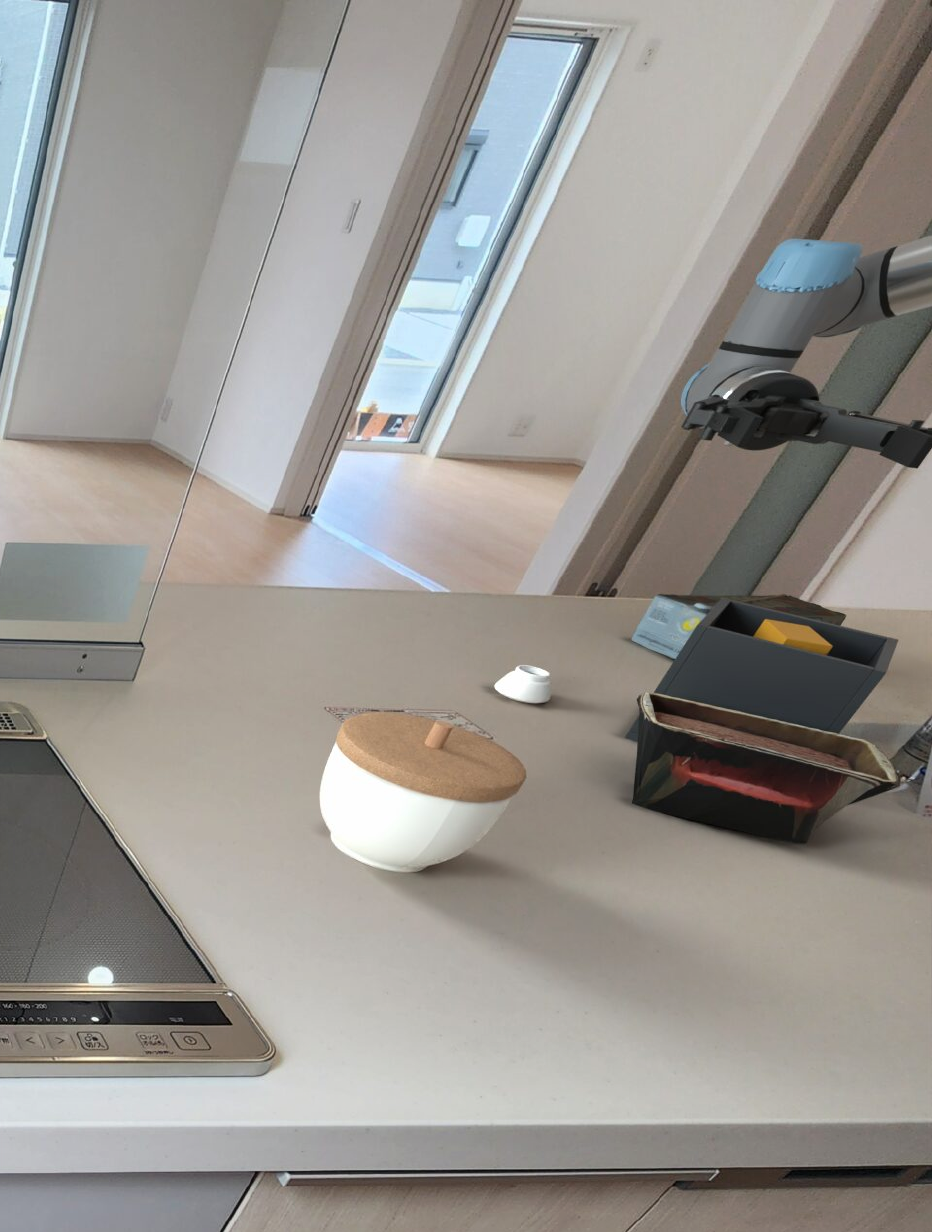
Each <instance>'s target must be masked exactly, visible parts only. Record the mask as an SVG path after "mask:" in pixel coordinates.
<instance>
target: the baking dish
mask: <svg viewBox="0 0 932 1232" xmlns="http://www.w3.org/2000/svg"><path fill="white" fill-rule="evenodd" d="M635 700H636V704H637V706H638V712H639V713H638V716H639V727H638V742H636V743H637V745H636V747H637V748H636V759H635V770H634V782H633V791H632V792H633V793H632V801H631V804H632V805H635V806H638V807H641V808H643V809H646V810H649V811H653V812H658V813H662V814H666V815H670V816H673V817H678V818H682V819H685V820H689V821H695V822H698V823H699V822H700V823H703V824H708V825H713V826H717V827H722V828H726V829H730V830H734V831H738V832H743V833H748V834H752V835H757V836H761V837H765V838H769V839H770V838H771V839H774V840H780V841H784V842H788V843H791V844H800V845H806V844H807V843H808V841H809V839H810V837H811V834H812V832H813V831H814V830H816V829H817V828H818V827H820V826H821V825H822V824H824V823H826V821H828V820H829V819H830V818H831V819H832V817H834V815H836V814H838V813H839V812H840V811H842V810H843V809H844V808H846V807H847V806H850V805H853V804H855V803H859V802H862V801H864V800H867V799H870V798H873V797H875V796H878V795H880V794H884V793H887V792H889V791H892V790H894V789H897V788H899V787H900V786H901V776H900V775H899V772H898V770H897V769H896V766H895V764H893V763H892V761H891V760H890V759H889V757H888V756H887V755H886V754H885V752H883V751H882V750H881V749H880V747H878V746H877V745H876V744H874V743H872V742H869V741H868V740H867V739H862V738H856V737H852V736H848V735H845V734H841V733H839V734H837V733H833V732H827V731H822V730H819V729H814V728H808V727H805V726H800V725H797V724H791V723H787V722H783V721H779V720H774V719H769V718H765V717H761V716H756V715H752V714H747V713H744V712H740V711H735V710H730V709H725V708H720V707H716V706H712V705H708V704H703V703H698V702H694V701H689V700H685V699H680V698H675V697H670V696H667V695H662V694H656V693H654V692H646V691H645V692H644V693H642V694H639V695H638V696H637V698H636V699H635Z"/></svg>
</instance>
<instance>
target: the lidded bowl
mask: <svg viewBox="0 0 932 1232" xmlns="http://www.w3.org/2000/svg"><path fill="white" fill-rule="evenodd" d="M331 749H332V750H331V751H330V754H329V756H328V758H327V761H326V764H325V766H324V771H323V773H322V777H321V780H320V781H321V782H320V787H319V808H320V812H321V816H322V818H323V821H324V823H325V825H326V827H327V828H328V831H329V832H330V840H331V842H332V844H333V845H334V846H335V848H337V849H338V850H339V851H340V852H342V853H343V854H345V855H346V856H348V857H350V858H352V859H353V860H355V861H357V862H359V863H362V864H364V865H367V866H369V867H372V868H375V869H378V870H381V871H386V872H392V873H405V874H410V873H417V872H421V871H423V870H425V869H426V868H427V867H429V866H434V865H438V864H441V863H444V862H447V861H449V860H451V859H454V858H456V857H458V856H460V855H462V854H464V853H465V852H466V851H467V850H469V849H470V848H472V847H473V846H474V845H476V844H477V843H478V842H479V841H480V840H481V839H482V838H484V836H485V835H486V834H487V833H488V832H489V831H490V830H491V829H492V827H494V826H495V824H496V823H497V821H498V820H499V819H500V818H501V816H502V814H503V813H504V811H505V810H506V808H507V807H508V805H509V803H510V802H511V800H512V798H513V797H514V796H515V795H516V794H518V792H519V791H520V789H521V788H522V786H523V784H524V782H525V781H526V779H527V770H526V768H525V766H524V764H523V763H522V761H521V760H520V759H519V758H518V757H517V756H515V754H513V753H512V752H511V751H509V750H508V749H506V748H505V747H504V746H502V745H500V744H498V743H496V742H495V741H493V740H491V739H489V738H487V737H484V736H483V735H480V734H478V733H476V732H473V731H470V730H468V729H466V728H462V727H460V726H457V725H454V724H452V723H450V722H447V721H445V720H436V719H432V718H428V717H422V716H418V715H411V714H405V713H397V712H367V713H359V714H356V715H352V716H351V717H348V718H347V719H346V720H344V721H343V723H341V724H340V727H339V729H338V732H337V735H336V738H335V743H334V745H333V746H332V748H331Z"/></svg>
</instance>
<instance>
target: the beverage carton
mask: <svg viewBox="0 0 932 1232" xmlns="http://www.w3.org/2000/svg"><path fill="white" fill-rule="evenodd" d="M722 598H726V599H730V600H735V601H739V602H743V603H747V604H751V605H756V606H760V607H764V608H768V609H772V610H776V611H781V612H785V613H789V614H793V615H797V616H802V617H806V618H810V619H814V620H818V621H823V622H827V623H831V624H835V625H839V626H842V624H843V622H844V621H845V620H846V618H847V614H845V613H843V612H840V611H835V610H832V609H829V608H826V607H823V606H822V605H820V604H817V603H814V602H809V601H806V600H804V599H801V598H798V597H795V596H792V595H787V594H784V593H781V594H777V595H776V594H774V595H773V594H770V595H768V594H767V595H733V594H732V595H710V594H709V595H708V594H707V595H706V594H704V595H703V594H697V595H696V594H674V593H673V594H666V593H665V594H663V593H659V594H656V595H655V596H654V598H653V599H652V601H651V603H650V605H649V606H648V608H647V610H646V611H645V613H644V614H643V615H642V617H641V618H640V621H639V622H638V624H637V626H636V628H635V630H634V633H633V634H632V636H631V641H632V642H633V643H635V644H638V645H640V646H642V647H644V648H646V649H648V650H650V651H653V652H656V653H659V654H661V655H664V656H666V657H667V658H670V659H672V660H675V659H676V657H677V655H678V654H679V652H680V651H681V649H682V648H683V646H684V645H685V643H686V642H687V640H688V638H689V637H690V635H691V634H692V632H693V631H694V629H695V628H696V626H697V625H698V624H699V623H700V622H701V620H702V619H703V618H704V617H705V616H706V615H707V614H708V613H709V612H710V611H711V610H712V609H713V607H714V606H715V605H716V604H717V603H718V602H719V601H720V600H721V599H722Z"/></svg>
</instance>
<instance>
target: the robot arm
mask: <svg viewBox="0 0 932 1232" xmlns="http://www.w3.org/2000/svg"><path fill="white" fill-rule="evenodd" d="M862 254H863V246H862V245H861V244H859V243H857V242H847V241H846V242H845V241H835V240H834V241H832V240H823V239H822V240H821V239H806V238H789V239H785V240H784V241H782V242H781V243H780V244H779V245H777V246H776V248H775V249H774V251H773V252H772V253H771V255H770V257H769V259H768V260H767V262H766V263H765V265H764V266H763V268H762V270H760V271H759V272H758V274H757V276H756V278H755V282H754V284H753V286H752V287H751V289H750V291H749V293H748V295H747V297H746V298H745V300H744V301H743V303H742V305H741V308H740V309H739V311H738V312H737V315H736V317H735V318H734V320H733V322H732V323H731V326H730V327H729V329H728V331H727V332H726V334H725V336H724V339H723V340H722V341H721V343H720V345H719V346H718V348H717V349H716V351H715V353H714V355H712V358H711V360H710V362H709V363H707V364H706V365H704V366H703V367H701V368H700V369H699V370H697V372H695V373H694V374H693V375H692V376H691V377H690V378H689V380H688V381H687V383H686V384H685V386H684V387H683V390H682V394H681V397H680V405H681V409H682V411H683V413H684V414H685V416H686V417H685V419H684V421H683V422H682V424H681V425H680V427H681V429H683V430H685V431H690V430H696V429H701V430H702V431H701V432H700V434H699V435H698V440H703V441H709V442H710V441H713V439H714V437H715V436H718V437H720V438H721V439H723V440H724V442H723V445H724V446H726V447H733V446H735V447H737V448H739V449H742V450H746V451H752V452H753V451H756V452H757V451H765V450H769V449H774V448H777V447H780V446H782V445H784V444H786V443H788V442H798V441H799V442H802V443H807V444H813V445H825V444H828V443H836V444H840V445H844V446H849V447H854V448H859V449H864V450H868V451H873V452H878V453H879V454H878V456H881V457H883V458H886V459H887V460H890V461H892V462H895V463H897V464H900V465H901V466H904V467H905V468H911V469H919V468H920V466H921V464H922V463H923V462H924V460H925V459H926V457H928V455H929V453H930V452H931V450H932V427H924V426H923V424H924V423H925V420H922V419H912V420H911V421H910V423H905V422H901V421H896V420H891V419H887V418H883V417H878V416H873V415H869V414H867V413H863V412H861V411H860V410H851V411H847V409H846V408H842V407H837V406H832V405H826V404H825V405H824V404H823V403H822V401H820V394H819V391H818V388H817V386H816V385H815V384H814V383H813V382H812V381H810V380H809V379H807V378H805V377H802V376H799V375H798V374H795V373H792V371H793V369H794V367H795V366H796V364H797V362H798V361H799V359H800V358H801V356H802V355H803V353H804V351H805V349H806V348H807V346H808V345H809V343H810V341H811V340H812V338H813V337H815V338H833V337H837V336H842V335H845V334H849V333H852V332H854V331H857V330H859V329H861V328H863V327H865V326H867V325H871V324H874V323H877V322H878V323H879V322H882V321H886V320H888V319H891V318H895V317H897V316H901V315H905V314H909V313H913V312H916V311H920V310H923V309H927V308H930V307H932V234H930V235H926V236H924V237H921V238H917V239H914V240H911V241H908V242H905V243H901V244H899V245H897V246H893V247H890V248H886V249H881V250H878V251H875V252H873V253H870V254H869V253H868V254H866V255H863V256H862ZM814 434H815V436H813V435H814Z"/></svg>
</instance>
